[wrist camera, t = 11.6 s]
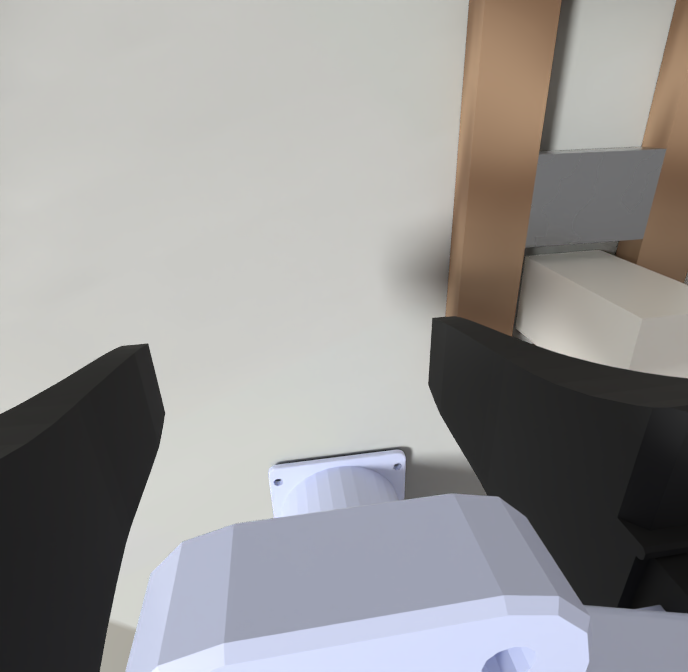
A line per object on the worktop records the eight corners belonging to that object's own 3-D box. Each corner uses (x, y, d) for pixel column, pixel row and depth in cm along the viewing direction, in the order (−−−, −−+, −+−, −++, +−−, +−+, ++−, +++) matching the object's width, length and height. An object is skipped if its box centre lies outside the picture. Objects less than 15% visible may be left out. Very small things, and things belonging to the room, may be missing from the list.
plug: (583, 320, 25) (709, 401, 18) (515, 327, 25) (616, 413, 17) (598, 249, 23) (744, 307, 16) (525, 255, 23) (642, 318, 16)
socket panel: (635, 363, 27) (654, 376, 26) (440, 384, 25) (449, 399, 24) (761, -73, 18) (800, -89, 17) (475, -79, 17) (493, -97, 15)
